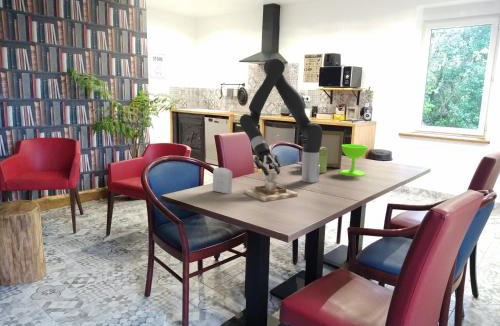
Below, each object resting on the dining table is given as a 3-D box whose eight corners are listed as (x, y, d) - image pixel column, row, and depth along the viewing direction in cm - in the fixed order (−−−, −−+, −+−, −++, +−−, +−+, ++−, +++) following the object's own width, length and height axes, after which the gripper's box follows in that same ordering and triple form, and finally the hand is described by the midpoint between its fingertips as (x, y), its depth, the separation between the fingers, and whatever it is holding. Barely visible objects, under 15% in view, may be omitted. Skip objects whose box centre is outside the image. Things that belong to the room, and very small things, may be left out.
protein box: (326, 173, 237) (328, 149, 235) (302, 172, 238) (303, 148, 235) (323, 169, 248) (325, 146, 245) (300, 169, 248) (302, 146, 245)
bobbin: (271, 189, 187) (272, 169, 185) (278, 192, 182) (279, 172, 180) (262, 190, 184) (262, 171, 182) (268, 193, 179) (269, 173, 177)
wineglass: (362, 171, 244) (364, 144, 241) (367, 177, 228) (370, 148, 225) (338, 170, 245) (339, 143, 242) (341, 175, 230) (343, 147, 226)
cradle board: (275, 187, 196) (276, 181, 195) (297, 196, 181) (298, 189, 181) (243, 192, 185) (244, 186, 185) (264, 201, 171) (264, 194, 170)
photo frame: (340, 168, 251) (342, 132, 247) (308, 166, 258) (310, 130, 253) (341, 165, 265) (343, 130, 261) (311, 163, 272) (313, 129, 267)
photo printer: (233, 192, 185) (233, 168, 183) (228, 194, 181) (229, 169, 179) (216, 189, 190) (216, 166, 188) (211, 191, 186) (211, 167, 184)
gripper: (251, 143, 181) (264, 171, 173) (275, 141, 189) (288, 168, 181) (245, 152, 186) (257, 179, 179) (268, 150, 194) (281, 177, 186)
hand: (273, 174), depth 180 cm, fingers open, 6 cm apart
